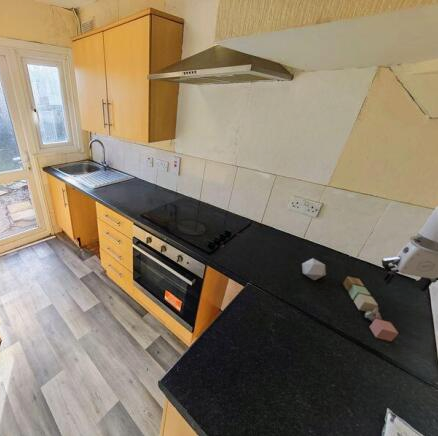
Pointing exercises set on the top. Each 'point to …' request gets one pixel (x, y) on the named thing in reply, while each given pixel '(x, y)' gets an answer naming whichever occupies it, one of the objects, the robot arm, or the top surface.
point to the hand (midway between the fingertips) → (401, 284)
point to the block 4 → (383, 330)
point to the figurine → (373, 315)
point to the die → (313, 269)
